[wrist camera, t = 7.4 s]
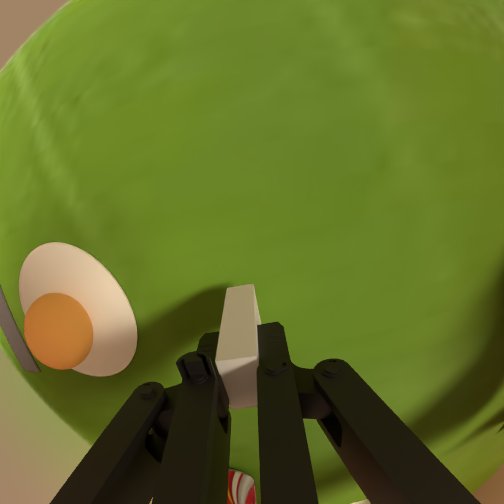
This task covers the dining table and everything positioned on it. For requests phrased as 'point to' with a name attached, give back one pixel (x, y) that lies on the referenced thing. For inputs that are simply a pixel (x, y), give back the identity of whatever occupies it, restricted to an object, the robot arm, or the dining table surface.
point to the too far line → (15, 337)
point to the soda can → (240, 488)
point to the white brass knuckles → (362, 502)
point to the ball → (58, 331)
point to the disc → (84, 302)
